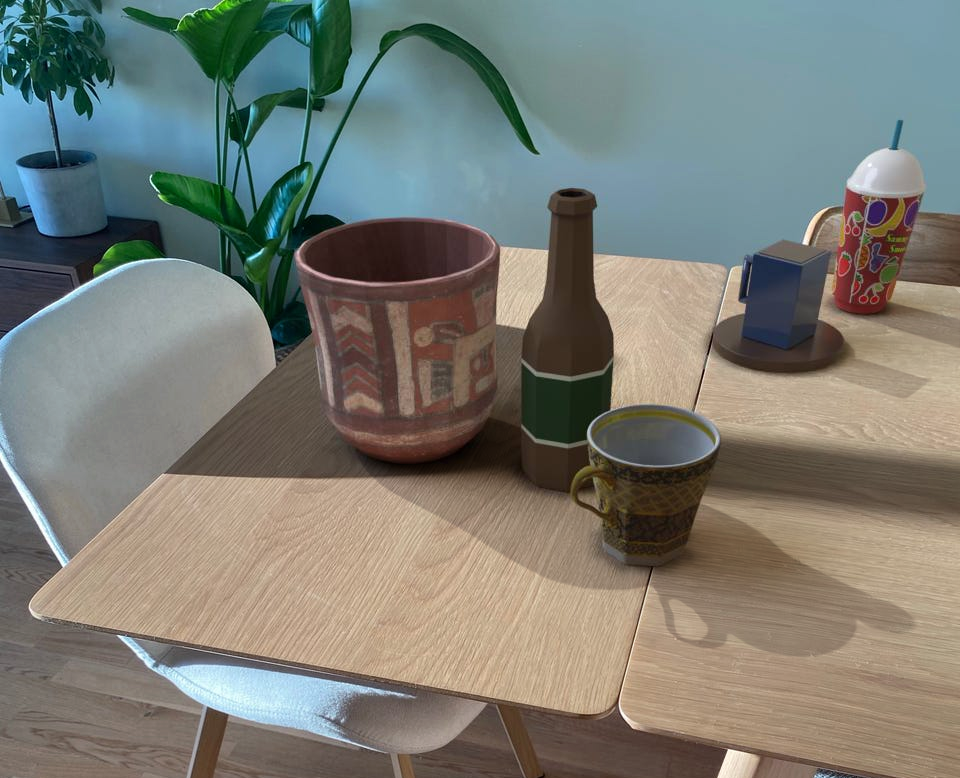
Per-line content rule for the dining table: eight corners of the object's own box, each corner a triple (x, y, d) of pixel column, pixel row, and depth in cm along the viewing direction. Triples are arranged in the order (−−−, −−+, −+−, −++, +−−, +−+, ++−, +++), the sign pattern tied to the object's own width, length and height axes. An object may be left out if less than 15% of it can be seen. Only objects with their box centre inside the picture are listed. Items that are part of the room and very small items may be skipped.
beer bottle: (560, 442, 93) (567, 172, 78) (624, 469, 89) (645, 190, 73) (503, 472, 89) (499, 194, 74) (567, 503, 85) (578, 215, 69)
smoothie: (886, 323, 112) (933, 133, 99) (814, 311, 116) (850, 125, 103) (902, 299, 118) (948, 115, 105) (832, 288, 121) (869, 108, 108)
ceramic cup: (644, 498, 85) (654, 391, 79) (731, 548, 79) (749, 437, 72) (528, 552, 79) (529, 441, 73) (612, 611, 73) (620, 496, 67)
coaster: (859, 336, 110) (861, 326, 109) (815, 383, 101) (817, 372, 100) (742, 312, 116) (743, 302, 115) (691, 354, 107) (692, 344, 107)
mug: (815, 333, 108) (831, 250, 102) (787, 350, 105) (802, 264, 99) (749, 314, 112) (761, 233, 106) (720, 329, 109) (731, 247, 103)
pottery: (309, 484, 88) (276, 287, 77) (332, 397, 102) (308, 217, 90) (503, 480, 88) (500, 281, 76) (502, 393, 101) (499, 212, 90)
